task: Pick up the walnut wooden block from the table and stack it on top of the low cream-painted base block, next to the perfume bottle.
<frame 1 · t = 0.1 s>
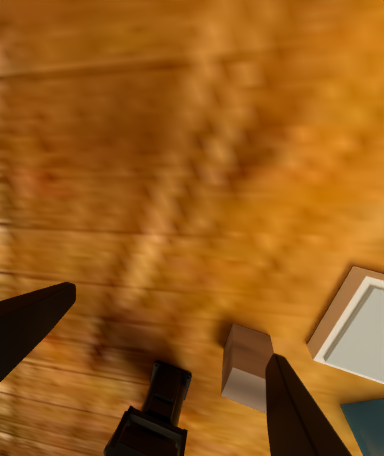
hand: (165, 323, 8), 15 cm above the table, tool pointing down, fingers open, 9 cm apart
block: (245, 342, 25), on the table
perfume bottle: (374, 415, 25), on the table
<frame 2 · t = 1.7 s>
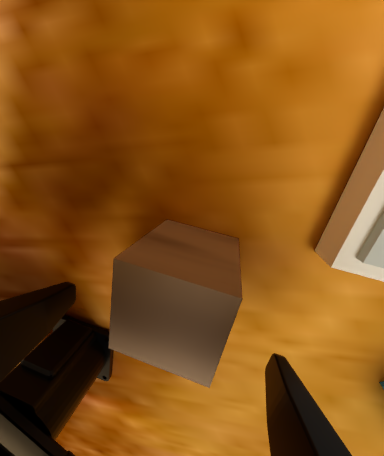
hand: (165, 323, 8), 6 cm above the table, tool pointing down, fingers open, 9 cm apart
block: (194, 260, 13), on the table
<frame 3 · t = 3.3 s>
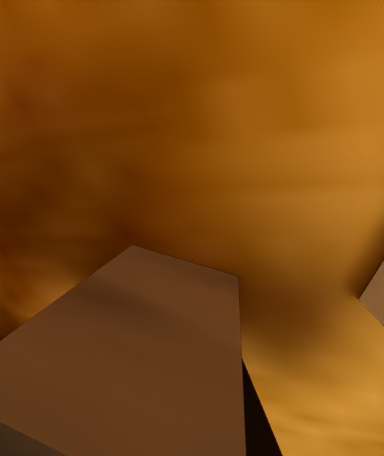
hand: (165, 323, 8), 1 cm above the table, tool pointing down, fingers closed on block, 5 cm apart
block: (173, 303, 9), on the table, touching gripper
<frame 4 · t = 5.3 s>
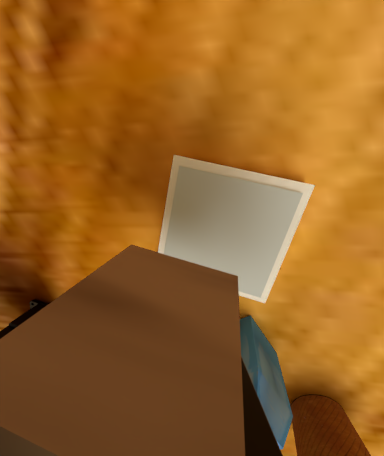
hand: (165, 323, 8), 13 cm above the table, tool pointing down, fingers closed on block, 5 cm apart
base: (223, 228, 19), on the table
block: (173, 303, 9), point 11 cm above the table, touching gripper
perfume bottle: (240, 340, 23), on the table
disposable coffee cup: (315, 409, 24), on the table
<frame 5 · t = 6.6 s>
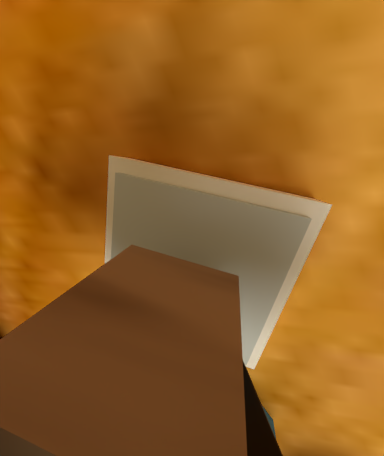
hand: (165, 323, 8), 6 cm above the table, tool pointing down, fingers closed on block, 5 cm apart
base: (195, 258, 13), on the table
block: (173, 303, 9), point 5 cm above the table, touching gripper
when the fingers open (5 cm above the table, at t = 7.6 s): block drops 1 cm, resting on base.
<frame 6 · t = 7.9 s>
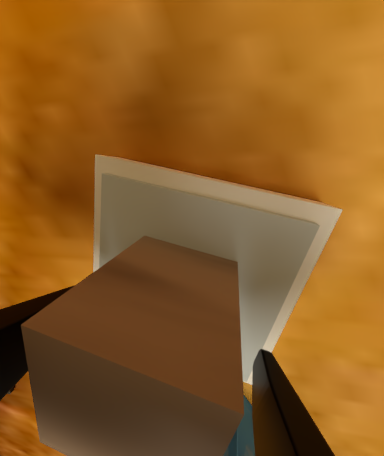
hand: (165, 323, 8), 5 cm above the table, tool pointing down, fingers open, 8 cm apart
base: (191, 266, 12), on the table
block: (180, 287, 10), point 2 cm above the table, touching base
perfume bottle: (224, 413, 17), on the table
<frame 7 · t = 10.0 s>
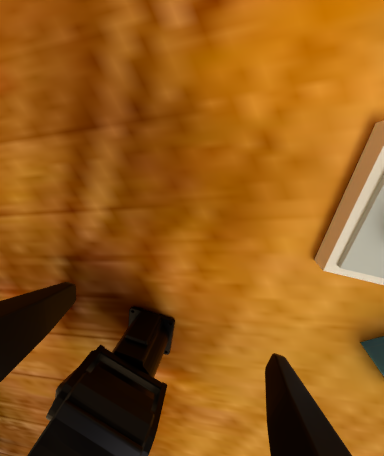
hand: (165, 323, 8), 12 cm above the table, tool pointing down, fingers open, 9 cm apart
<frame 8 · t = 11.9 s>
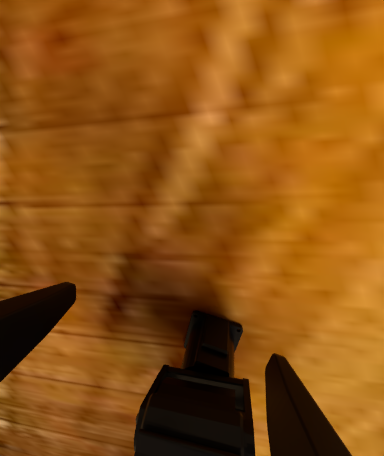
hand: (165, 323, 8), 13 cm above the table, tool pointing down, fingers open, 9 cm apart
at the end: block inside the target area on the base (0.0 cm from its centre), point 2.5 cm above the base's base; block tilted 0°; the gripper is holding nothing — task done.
